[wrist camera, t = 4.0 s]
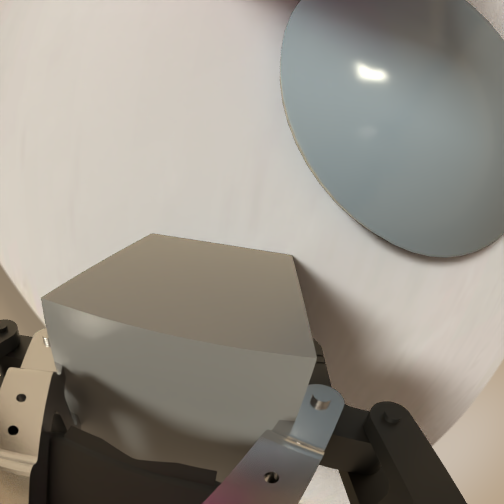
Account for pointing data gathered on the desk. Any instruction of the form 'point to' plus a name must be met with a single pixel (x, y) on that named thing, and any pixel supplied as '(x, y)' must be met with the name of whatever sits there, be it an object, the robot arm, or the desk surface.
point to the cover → (183, 349)
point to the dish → (401, 117)
